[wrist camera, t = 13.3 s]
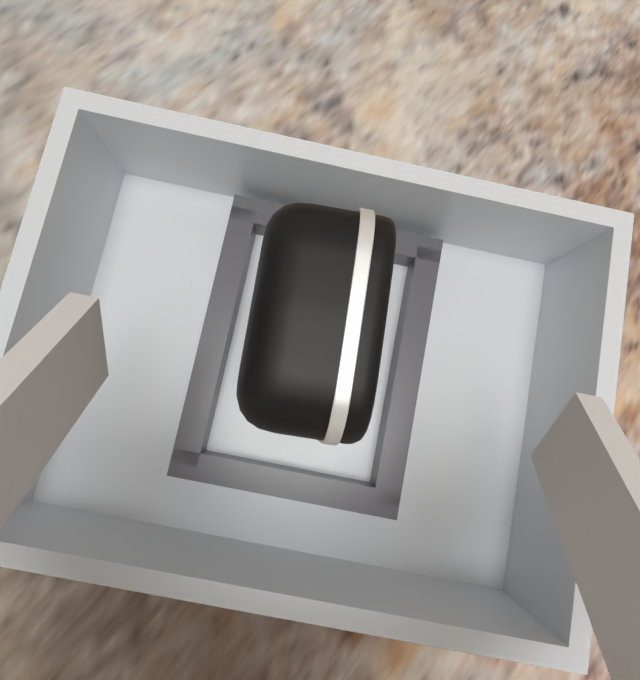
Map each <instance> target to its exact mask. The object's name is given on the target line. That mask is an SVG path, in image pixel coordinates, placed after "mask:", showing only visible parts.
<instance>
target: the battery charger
mask: <svg viewBox="0 0 640 680" xmlns="http://www.w3.org/2000/svg"><path fill="white" fill-rule="evenodd" d="M395 248H396V228H395V224H394V222H393V221H392V220H391V219H390V218H388V217H385V216H380V215H375V212H374V210H370V209H364V208H359V209H358V211H352V210H346V209H340V208H335V207H329V206H323V205H317V204H310V203H293V204H289V205H285V206H283V207H282V208H280V209H279V210H278V211H276V212H275V213H274V214H273V215H272V217H271V219H270V220H269V222H268V223H267V225H266V229H265V232H264V237H263V241H262V246H261V251H260V257H259V262H258V268H257V273H256V279H255V285H254V290H253V295H252V301H251V306H250V312H249V318H248V323H247V330H246V335H245V340H244V345H243V351H242V357H241V362H240V368H239V373H238V381H237V391H236V397H237V401H238V405H239V409H240V411H241V413H242V414H243V416H244V417H245V419H246V420H247V421H248V422H249V423H251V424H252V425H254V426H255V427H257V428H258V429H261V430H265V431H269V432H272V433H277V434H283V435H290V436H296V437H303V438H309V439H316V440H318V441H319V442H320V443H322V444H327V445H334V446H336V445H338V444H339V443H342V444H353V443H356V442H358V441H360V440H361V439H362V438H363V437H364V435H365V433H366V432H367V429H368V426H369V423H370V420H371V416H372V412H373V407H374V402H375V396H376V390H377V384H378V377H379V369H380V362H381V355H382V348H383V341H384V334H385V327H386V319H387V312H388V304H389V296H390V289H391V281H392V273H393V266H394V258H395Z"/></svg>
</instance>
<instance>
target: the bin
mask: <svg viewBox="0 0 640 680" xmlns="http://www.w3.org/2000/svg"><path fill="white" fill-rule="evenodd" d="M293 203H310V204H317V205H323V206H329V207H335V208H340V209H346V210H352V211H358V209H359V208H364V209H370V210H374V212H375V215H380V216H385V217H388V218H390V219H391V220H392V221H393V222H394V224H395V228H396V248H395V258H394V266H393V273H392V281H391V289H390V296H389V304H388V312H387V319H386V327H385V334H384V341H383V348H382V355H381V362H380V369H379V377H378V384H377V390H376V396H375V402H374V407H373V412H372V416H371V420H370V423H369V426H368V429H367V432H366V433H365V435H364V437H363V438H362V439H361V440H360V441H358V442H356V443H353V444H342V443H339V444H338V445H336V446H334V445H327V444H322V443H320V442H319V441H318V440H316V439H309V438H303V437H296V436H290V435H283V434H277V433H272V432H269V431H265V430H261V429H258V428H257V427H255V426H254V425H252V424H251V423H249V422H248V421H247V420H246V419H245V417H244V416H243V414H242V413H241V411H240V409H239V405H238V401H237V397H236V391H237V381H238V373H239V368H240V362H241V357H242V351H243V345H244V340H245V335H246V330H247V323H248V318H249V312H250V306H251V301H252V295H253V290H254V285H255V279H256V273H257V268H258V262H259V257H260V251H261V246H262V241H263V237H264V232H265V229H266V225H267V223H268V222H269V220H270V219H271V217H272V215H273V214H274V213H275V212H276V211H278V210H279V209H280V208H282V207H283V206H285V205H289V204H293ZM633 220H634V214H633V213H629V212H624V211H620V210H615V209H611V208H606V207H602V206H597V205H593V204H588V203H584V202H579V201H575V200H570V199H566V198H561V197H557V196H552V195H548V194H543V193H539V192H534V191H530V190H525V189H521V188H517V187H512V186H508V185H503V184H499V183H494V182H490V181H485V180H481V179H476V178H472V177H467V176H463V175H458V174H454V173H449V172H445V171H440V170H436V169H431V168H427V167H422V166H418V165H413V164H409V163H404V162H400V161H395V160H391V159H386V158H382V157H378V156H373V155H369V154H364V153H360V152H355V151H351V150H346V149H342V148H337V147H333V146H328V145H324V144H319V143H315V142H310V141H306V140H301V139H297V138H292V137H288V136H283V135H279V134H274V133H270V132H265V131H261V130H256V129H252V128H247V127H243V126H238V125H234V124H230V123H225V122H221V121H216V120H212V119H207V118H203V117H198V116H194V115H189V114H185V113H180V112H176V111H171V110H167V109H162V108H158V107H153V106H149V105H144V104H140V103H135V102H131V101H126V100H122V99H117V98H113V97H108V96H104V95H99V94H95V93H91V92H86V91H82V90H77V89H73V88H68V87H64V89H63V92H62V95H61V98H60V101H59V105H58V108H57V111H56V114H55V117H54V121H53V124H52V127H51V130H50V133H49V137H48V140H47V143H46V146H45V149H44V152H43V156H42V159H41V162H40V165H39V168H38V172H37V175H36V178H35V181H34V184H33V188H32V191H31V194H30V197H29V200H28V204H27V207H26V210H25V213H24V216H23V220H22V223H21V226H20V229H19V232H18V235H17V239H16V242H15V245H14V248H13V251H12V255H11V258H10V261H9V264H8V267H7V271H6V274H5V277H4V280H3V283H2V287H1V290H0V359H1V358H2V357H3V356H4V355H5V354H6V353H7V352H8V351H9V350H10V349H11V348H13V347H14V346H15V345H16V344H17V343H18V342H19V341H20V340H21V339H22V338H23V337H24V336H25V335H26V334H27V333H28V332H29V331H30V330H31V329H32V328H33V327H34V326H35V325H36V324H37V323H38V322H39V321H41V320H42V319H43V318H44V317H45V316H46V315H47V314H48V313H49V312H50V311H51V310H52V309H53V308H54V307H55V306H56V305H57V304H58V303H59V302H60V301H61V300H62V299H63V298H64V297H65V296H66V295H67V294H68V293H70V292H72V293H77V294H82V295H87V296H92V297H97V298H99V301H100V309H101V317H102V325H103V333H104V341H105V349H106V357H107V365H108V373H109V376H108V377H107V378H106V380H105V381H104V383H103V384H102V386H101V387H100V388H99V390H98V391H97V393H96V394H95V396H94V397H93V399H92V400H91V401H90V403H89V404H88V406H87V407H86V409H85V410H84V411H83V413H82V414H81V416H80V417H79V419H78V420H77V421H76V423H75V424H74V426H73V427H72V429H71V430H70V431H69V433H68V434H67V436H66V437H65V439H64V440H63V441H62V443H61V444H60V446H59V447H58V449H57V450H56V451H55V453H54V454H53V456H52V457H51V459H50V460H49V462H48V463H47V464H46V466H45V467H44V469H43V470H42V472H41V473H40V474H39V476H38V477H37V479H36V480H35V482H34V483H33V484H32V486H31V487H30V489H29V490H28V492H27V493H26V494H25V496H24V497H23V499H22V500H21V502H20V503H19V504H18V506H17V507H16V509H15V510H14V512H13V513H12V515H11V516H10V517H9V519H8V520H7V522H6V523H5V525H4V526H3V527H2V529H1V530H0V567H5V568H10V569H15V570H21V571H26V572H32V573H37V574H42V575H48V576H53V577H59V578H64V579H70V580H75V581H80V582H86V583H91V584H97V585H102V586H107V587H113V588H118V589H124V590H129V591H135V592H140V593H145V594H151V595H156V596H162V597H167V598H172V599H178V600H183V601H189V602H194V603H200V604H205V605H210V606H216V607H221V608H227V609H232V610H237V611H243V612H248V613H254V614H259V615H265V616H270V617H275V618H281V619H286V620H292V621H297V622H302V623H308V624H313V625H319V626H324V627H330V628H335V629H340V630H346V631H351V632H357V633H362V634H367V635H373V636H378V637H384V638H389V639H395V640H400V641H405V642H411V643H416V644H422V645H427V646H432V647H438V648H443V649H449V650H454V651H460V652H465V653H470V654H476V655H481V656H487V657H492V658H497V659H503V660H508V661H514V662H519V663H525V664H530V665H535V666H541V667H546V668H552V669H557V670H562V671H568V672H573V673H579V674H584V675H587V673H588V663H589V653H590V643H591V633H592V625H591V622H590V619H589V616H588V614H587V611H586V608H585V605H584V603H583V600H582V597H581V594H580V592H579V589H578V586H577V583H576V581H575V578H574V575H573V572H572V570H571V567H570V564H569V561H568V558H567V556H566V553H565V550H564V547H563V545H562V542H561V539H560V536H559V534H558V531H557V528H556V525H555V523H554V520H553V517H552V514H551V512H550V509H549V506H548V503H547V500H546V498H545V495H544V492H543V489H542V487H541V484H540V481H539V478H538V476H537V473H536V470H535V467H534V465H533V462H532V459H531V454H532V453H533V451H534V450H535V449H536V447H537V446H538V444H539V443H540V442H541V440H542V439H543V437H544V436H545V435H546V433H547V432H548V430H549V429H550V428H551V426H552V425H553V423H554V422H555V421H556V419H557V418H558V416H559V415H560V414H561V412H562V411H563V409H564V408H565V407H566V405H567V404H568V402H569V401H570V400H571V398H572V397H573V395H574V394H575V393H576V392H577V393H582V394H587V395H592V396H597V397H602V398H603V400H604V401H605V403H606V405H607V406H608V408H609V410H610V411H611V413H612V415H613V416H614V407H615V397H616V387H617V378H618V368H619V358H620V348H621V338H622V328H623V318H624V309H625V299H626V289H627V279H628V269H629V259H630V250H631V240H632V230H633Z"/></svg>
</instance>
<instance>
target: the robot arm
mask: <svg viewBox="0 0 640 680" xmlns="http://www.w3.org/2000/svg"><path fill="white" fill-rule="evenodd" d="M108 376H109V373H108V365H107V357H106V349H105V341H104V333H103V325H102V317H101V309H100V301H99V298H97V297H92V296H87V295H82V294H77V293H72V292H70V293H68V294H67V295H66V296H65V297H64V298H63V299H62V300H61V301H60V302H59V303H58V304H57V305H56V306H55V307H54V308H53V309H52V310H51V311H50V312H49V313H48V314H47V315H46V316H45V317H44V318H43V319H42V320H41V321H39V322H38V323H37V324H36V325H35V326H34V327H33V328H32V329H31V330H30V331H29V332H28V333H27V334H26V335H25V336H24V337H23V338H22V339H21V340H20V341H19V342H18V343H17V344H16V345H15V346H14V347H13V348H11V349H10V350H9V351H8V352H7V353H6V354H5V355H4V356H3V357H2V358H1V359H0V530H1V529H2V527H3V526H4V525H5V523H6V522H7V520H8V519H9V517H10V516H11V515H12V513H13V512H14V510H15V509H16V507H17V506H18V504H19V503H20V502H21V500H22V499H23V497H24V496H25V494H26V493H27V492H28V490H29V489H30V487H31V486H32V484H33V483H34V482H35V480H36V479H37V477H38V476H39V474H40V473H41V472H42V470H43V469H44V467H45V466H46V464H47V463H48V462H49V460H50V459H51V457H52V456H53V454H54V453H55V451H56V450H57V449H58V447H59V446H60V444H61V443H62V441H63V440H64V439H65V437H66V436H67V434H68V433H69V431H70V430H71V429H72V427H73V426H74V424H75V423H76V421H77V420H78V419H79V417H80V416H81V414H82V413H83V411H84V410H85V409H86V407H87V406H88V404H89V403H90V401H91V400H92V399H93V397H94V396H95V394H96V393H97V391H98V390H99V388H100V387H101V386H102V384H103V383H104V381H105V380H106V378H107V377H108ZM531 459H532V462H533V465H534V467H535V470H536V473H537V476H538V478H539V481H540V484H541V487H542V489H543V492H544V495H545V498H546V500H547V503H548V506H549V509H550V512H551V514H552V517H553V520H554V523H555V525H556V528H557V531H558V534H559V536H560V539H561V542H562V545H563V547H564V550H565V553H566V556H567V558H568V561H569V564H570V567H571V570H572V572H573V575H574V578H575V581H576V583H577V586H578V589H579V592H580V594H581V597H582V600H583V603H584V605H585V608H586V611H587V614H588V616H589V619H590V622H591V625H592V628H593V630H594V633H595V636H596V639H597V641H598V644H599V647H600V650H601V652H602V655H603V658H604V661H605V663H606V666H607V669H608V672H609V675H610V677H611V680H640V460H639V458H638V456H637V455H636V453H635V451H634V450H633V448H632V446H631V445H630V443H629V441H628V440H627V438H626V436H625V435H624V433H623V431H622V430H621V428H620V426H619V425H618V423H617V421H616V420H615V418H614V416H613V415H612V413H611V411H610V410H609V408H608V406H607V405H606V403H605V401H604V400H603V398H602V397H597V396H592V395H587V394H582V393H577V392H576V393H575V394H574V395H573V397H572V398H571V400H570V401H569V402H568V404H567V405H566V407H565V408H564V409H563V411H562V412H561V414H560V415H559V416H558V418H557V419H556V421H555V422H554V423H553V425H552V426H551V428H550V429H549V430H548V432H547V433H546V435H545V436H544V437H543V439H542V440H541V442H540V443H539V444H538V446H537V447H536V449H535V450H534V451H533V453H532V454H531Z"/></svg>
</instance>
